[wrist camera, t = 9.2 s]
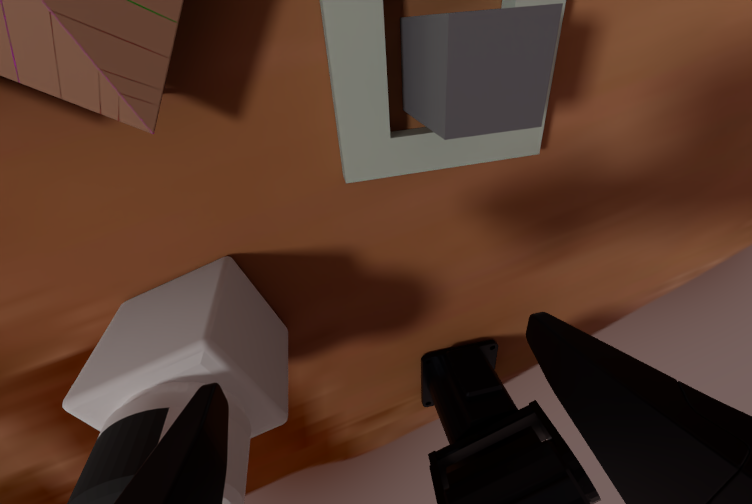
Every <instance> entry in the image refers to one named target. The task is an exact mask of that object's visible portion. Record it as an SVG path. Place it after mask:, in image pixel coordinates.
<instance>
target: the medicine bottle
mask: <svg viewBox="0 0 752 504" xmlns="http://www.w3.org/2000/svg"><path fill="white" fill-rule="evenodd" d="M210 383H218V384H219V385H220V387H221V389H222V391H223V393H224V395H225V397H226V399H227V401H228V405H229V419H228V455H227V471H226V479H225V487H224V494H223V501H222V504H244V499H245V489H246V478H247V468H248V457H249V446H250V438H252V437H255V436H257V435H259V434H262V433H264V432H266V431H269V430H271V429H273V428H275V427H278V426H280V425H282V424H284V423H285V422H286V421H287V418H288V330H287V328H286V326H285V325H284V324H283V322H282V321H281V320H280V319H279V317H278V316H277V315H276V313H275V312H274V311H273V310H272V308H271V307H270V306H269V305H268V303H267V302H266V301H265V299H264V298H263V297H262V296H261V294H260V293H259V292H258V290H257V289H256V288H255V287H254V285H253V284H252V283H251V281H250V280H249V279H248V278H247V276H246V275H245V274H244V273H243V271H242V270H241V269H240V267H239V266H238V265H237V264H236V262H235V261H234V260H233V258H231V257H229V256H225V257H223V258H220V259H218V260H216V261H214V262H211V263H209V264H207V265H205V266H203V267H200V268H198V269H196V270H194V271H192V272H189V273H187V274H185V275H183V276H180V277H178V278H176V279H174V280H172V281H169V282H167V283H165V284H163V285H160V286H158V287H156V288H154V289H152V290H149V291H147V292H145V293H143V294H140V295H138V296H136V297H134V298H132V299H129V300H127V301H125V302H124V303H123V304H122V305H121V306H120V308H119V310H118V311H117V313H116V314H115V316H114V318H113V319H112V321H111V323H110V324H109V326H108V328H107V329H106V331H105V333H104V334H103V336H102V338H101V339H100V341H99V343H98V344H97V346H96V347H95V349H94V351H93V352H92V354H91V356H90V357H89V359H88V361H87V362H86V364H85V366H84V367H83V369H82V371H81V372H80V374H79V376H78V377H77V379H76V380H75V382H74V384H73V385H72V387H71V389H70V390H69V392H68V394H67V395H66V397H65V399H64V400H63V404H62V407H63V408H64V410H65V411H67V412H69V413H70V414H72V415H74V416H75V417H77V418H79V419H80V420H82V421H84V422H85V423H87V424H89V425H90V426H92V427H94V428H95V429H97V430H99V431H100V434H99V437H98V439H97V441H96V443H95V445H94V447H93V449H92V452H91V454H90V456H89V458H88V460H87V462H86V464H85V467H84V469H83V471H82V473H81V475H80V477H79V479H78V482H77V484H76V486H75V488H74V490H73V492H72V494H71V497H70V499H69V501H68V503H67V504H114V503H115V501H116V500H117V499H118V497H119V496H120V495H121V493H122V492H123V491H124V489H125V488H126V486H127V485H128V484H129V482H130V481H131V480H132V478H133V477H134V476H135V474H136V473H137V472H138V470H139V469H140V467H141V466H142V465H143V463H144V462H145V461H146V459H147V458H148V457H149V455H150V454H151V453H152V451H153V450H154V448H155V447H156V446H157V444H158V443H159V442H160V440H161V439H162V438H163V436H164V435H165V434H166V432H167V431H168V429H169V428H170V427H171V425H172V424H173V423H174V421H175V420H176V419H177V417H178V416H179V415H180V413H181V412H182V410H183V409H184V408H185V406H186V405H187V404H188V402H189V401H190V400H191V398H192V397H193V396H194V394H195V393H196V391H197V390H198V389H199V388H200V387H201V386H202V385H205V384H210Z"/></svg>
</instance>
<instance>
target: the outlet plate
mask: <svg viewBox="0 0 752 504" xmlns="http://www.w3.org/2000/svg"><path fill="white" fill-rule="evenodd" d="M559 3H563V6H562V12H561V18H560V23H559V29H558V35H557V40H556V46H555V52H554V58H553V63H552V69H551V75H550V80H549V86H548V92H547V98H546V103H545V109H544V115H543V120H542V126H541V127H536V128H529V129H522V130H514V131H507V132H500V133H492V134H485V135H478V136H470V137H463V138H456V139H448V140H444V139H443V138H441V137H440V136H439V135H437V134H436V133H434V132H433V131H432V130H430V129H429V128H427V127H422V128H415V129H408V130H400V131H393V132H390V121H389V102H388V84H387V66H386V48H385V29H384V11H383V0H320V6H321V14H322V21H323V28H324V36H325V43H326V51H327V58H328V66H329V73H330V81H331V88H332V96H333V103H334V110H335V118H336V125H337V133H338V140H339V148H340V155H341V163H342V170H343V176H344V179H345V182H346V183H352V182H359V181H365V180H372V179H378V178H385V177H391V176H398V175H405V174H411V173H418V172H424V171H431V170H437V169H444V168H451V167H457V166H464V165H470V164H477V163H484V162H490V161H497V160H503V159H510V158H516V157H523V156H530V155H536V154H539V152H540V146H541V141H542V135H543V129H544V124H545V118H546V112H547V106H548V101H549V95H550V89H551V84H552V78H553V72H554V66H555V61H556V55H557V49H558V44H559V38H560V32H561V26H562V21H563V15H564V9H565V4H566V0H502V8H513V7H525V6H536V5H548V4H559Z"/></svg>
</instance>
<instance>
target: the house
mask: <svg viewBox="0 0 752 504" xmlns="http://www.w3.org/2000/svg"><path fill="white" fill-rule="evenodd" d="M183 2H184V0H0V76H3V77H6V78H8V79H11V80H13V81H16V82H19V83H21V84H24V85H26V86H29V87H32V88H34V89H37V90H39V91H42V92H45V93H47V94H50V95H52V96H55V97H58V98H60V99H63V100H65V101H68V102H71V103H73V104H76V105H79V106H81V107H84V108H86V109H89V110H92V111H94V112H97V113H99V114H102V115H105V116H107V117H110V118H112V119H115V120H118V121H120V122H123V123H125V124H128V125H131V126H133V127H136V128H138V129H141V130H144V131H146V132H149V133H151V134H154V131H155V126H156V122H157V118H158V113H159V109H160V104H161V100H162V95H163V91H164V86H165V82H166V77H167V73H168V69H169V64H170V60H171V55H172V51H173V46H174V42H175V37H176V33H177V29H178V24H179V20H180V15H181V11H182V6H183Z"/></svg>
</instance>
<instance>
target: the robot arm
mask: <svg viewBox="0 0 752 504" xmlns="http://www.w3.org/2000/svg"><path fill="white" fill-rule="evenodd" d="M526 339H527V341H528V344H529V346H530V348H531V349H532V351H533V353H534V355H535V357H536V359H537V361H538V363H539V365H540V367H541V369H542V371H543V373H544V375H545V377H546V379H547V381H548V383H549V384H550V386H551V388H552V390H553V391H554V393H555V394H556V396H557V398H558V399H559V401H560V402H561V404H562V405H563V407H564V408H565V410H566V412H567V413H568V415H569V416H570V418H571V419H572V421H573V422H574V424H575V426H576V427H577V428H578V430H579V432H580V433H581V435H582V436H583V438H584V439H585V441H586V443H587V444H588V446H589V447H590V449H591V450H592V452H593V453H594V455H595V456H596V458H597V460H598V461H599V463H600V464H601V466H602V467H603V469H604V471H605V472H606V474H607V475H608V477H609V478H610V480H611V481H612V483H613V485H614V486H615V488H616V489H617V491H618V492H619V494H620V495H621V497H622V498H623V500H624V502H625V503H626V504H752V416H750V415H748V414H745V413H743V412H741V411H739V410H737V409H735V408H732V407H730V406H728V405H726V404H724V403H722V402H720V401H718V400H716V399H714V398H711V397H709V396H708V395H706V394H704V393H701V392H699V391H698V390H695V389H694V388H692V387H689V386H688V385H686V384H684V383H682V382H680V381H678V382H677V380H676V379H674V378H672V377H670V376H668V375H666V374H664V373H662V372H660V371H658V370H657V369H654V368H653V367H651V366H649V365H647V364H645V363H643V362H641V361H639V360H637V359H635V358H633V357H631V356H629V355H627V354H625V353H623V352H622V351H619V350H618V349H616V348H614V347H612V346H610V345H608V344H606V343H604V342H602V341H600V340H598V339H597V338H595V337H593V336H591V335H589V334H587V333H585V332H583V331H581V330H579V329H577V328H575V327H573V326H571V325H569V324H567V323H566V322H564V321H562V320H560V319H558V318H556V317H554V316H552V315H550V314H548V313H546V312H539V313H534V314H531V315H530V317H529V321H528V326H527V330H526ZM497 351H498V344H497V343H496V341H495V340H488V341H484V342H479V343H475V344H470V345H466V346H461V347H457V348H452V349H448V350H443V351H439V352H434V353H430V354H426V355H424V356H423V357H422V358H421V399H422V404H423V406H424V407H430V406H434V405H435V408H436V410H437V413H438V415H439V418H440V421H441V423H442V426H443V428H444V431H445V434H446V436H447V439H448V441H449V444H450V445H448V446H446V447H444V448H442V449H440V450H438V451H433V452H431V453H429V454H428V456H429V460H430V472H431V476H432V481H433V486H434V490H435V495H436V500H437V504H594V503H596V502H598V501H600V500H601V499H600V496H599V494H598V493H597V491H596V489H595V487H594V486H593V484H592V482H591V481H590V479H589V477H588V476H587V474H586V473H585V471H584V469H583V468H582V466H581V465H580V463H579V461H578V460H577V458H576V457H575V456H574V454H573V452H572V451H571V450H570V448H569V447H568V445H567V444H566V442H565V441H564V439H563V438H562V437H561V435H560V434H559V432H558V431H557V430H556V428H555V427H554V425H553V424H552V423H551V421H550V420H549V418H548V417H547V416H546V414H545V413H544V411H543V410H542V408H541V407H540V406H539V404H538V403H537V401H536V400H534V401H533V402H531V403H529V405H528V406H526V407H524V408H522V409H520V410H518V409H517V407H516V406H515V404H514V402H513V400H512V399H511V397H510V396H509V394H508V392H507V390H506V389H505V387H504V385H503V384H502V382H501V380H500V379H499V377H498V375H497V374H496V372H495V370H494V369H495V363H496V357H497ZM228 419H229V405H228V401H227V399H226V397H225V395H224V393H223V391H222V389H221V387H220V385H219V384H218V383H210V384H205V385H202V386H201V387H200V388H199V389H198V390H197V391H196V393H195V394H194V396H193V397H192V398H191V400H190V401H189V402H188V404H187V405H186V406H185V408H184V409H183V410H182V412H181V413H180V415H179V416H178V417H177V419H176V420H175V421H174V423H173V424H172V425H171V427H170V428H169V429H168V431H167V432H166V434H165V435H164V436H163V438H162V439H161V440H160V442H159V443H158V444H157V446H156V447H155V448H154V450H153V451H152V453H151V454H150V455H149V457H148V458H147V459H146V461H145V462H144V463H143V465H142V466H141V467H140V469H139V470H138V472H137V473H136V474H135V476H134V477H133V478H132V480H131V481H130V482H129V484H128V485H127V486H126V488H125V489H124V491H123V492H122V493H121V495H120V496H119V497H118V499H117V500H116V501H115V503H114V504H222V501H223V494H224V487H225V479H226V471H227V455H228ZM546 439H548V440H546ZM544 440H545V441H544ZM542 441H543V442H542Z"/></svg>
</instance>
